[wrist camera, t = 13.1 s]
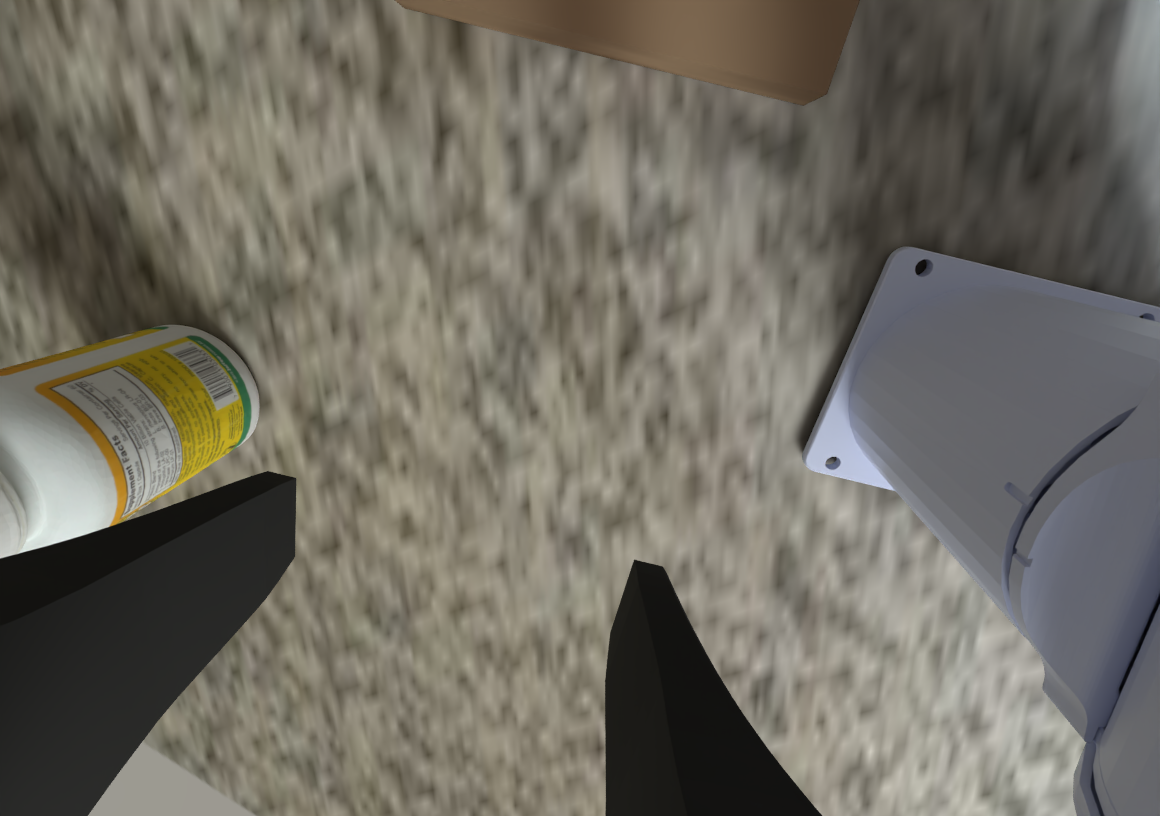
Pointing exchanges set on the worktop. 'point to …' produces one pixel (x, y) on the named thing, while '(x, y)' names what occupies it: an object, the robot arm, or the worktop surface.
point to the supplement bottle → (114, 429)
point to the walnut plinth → (684, 36)
